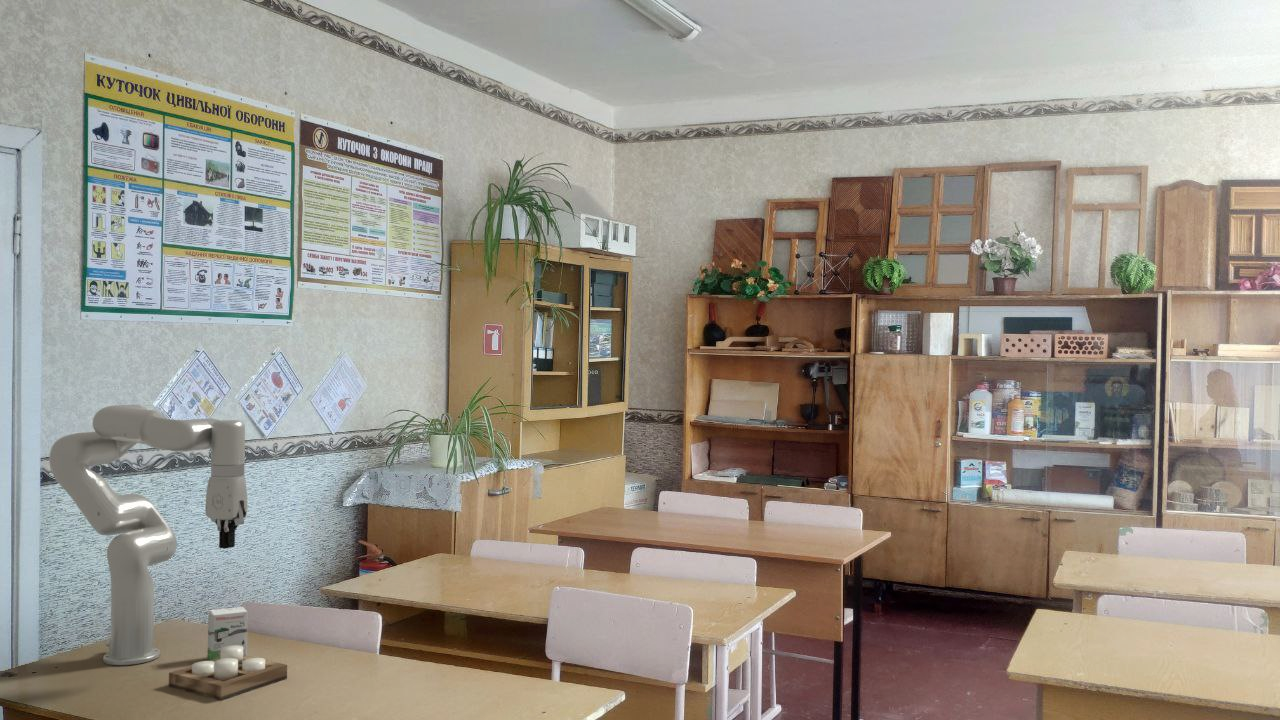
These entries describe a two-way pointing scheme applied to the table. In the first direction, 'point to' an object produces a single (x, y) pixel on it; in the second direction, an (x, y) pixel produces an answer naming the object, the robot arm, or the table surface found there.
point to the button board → (230, 687)
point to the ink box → (226, 630)
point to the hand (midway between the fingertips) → (227, 547)
